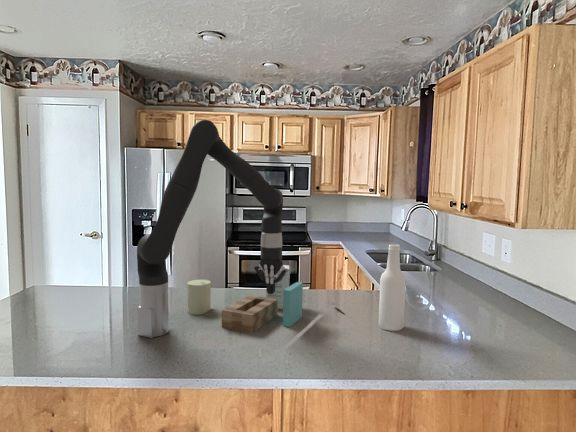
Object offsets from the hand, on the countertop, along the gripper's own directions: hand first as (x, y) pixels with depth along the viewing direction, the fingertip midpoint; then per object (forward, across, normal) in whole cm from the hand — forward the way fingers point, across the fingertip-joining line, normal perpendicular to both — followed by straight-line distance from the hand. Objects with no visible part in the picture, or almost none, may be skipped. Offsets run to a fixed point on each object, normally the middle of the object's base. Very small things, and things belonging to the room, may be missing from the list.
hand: (270, 293), depth 141 cm
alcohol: (+12, +39, +19) cm, 45 cm away
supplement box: (+12, -7, +21) cm, 25 cm away
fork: (+13, +15, +30) cm, 36 cm away
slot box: (+12, -8, 0) cm, 14 cm away
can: (+12, -33, +3) cm, 35 cm away
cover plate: (+12, +6, +6) cm, 15 cm away
